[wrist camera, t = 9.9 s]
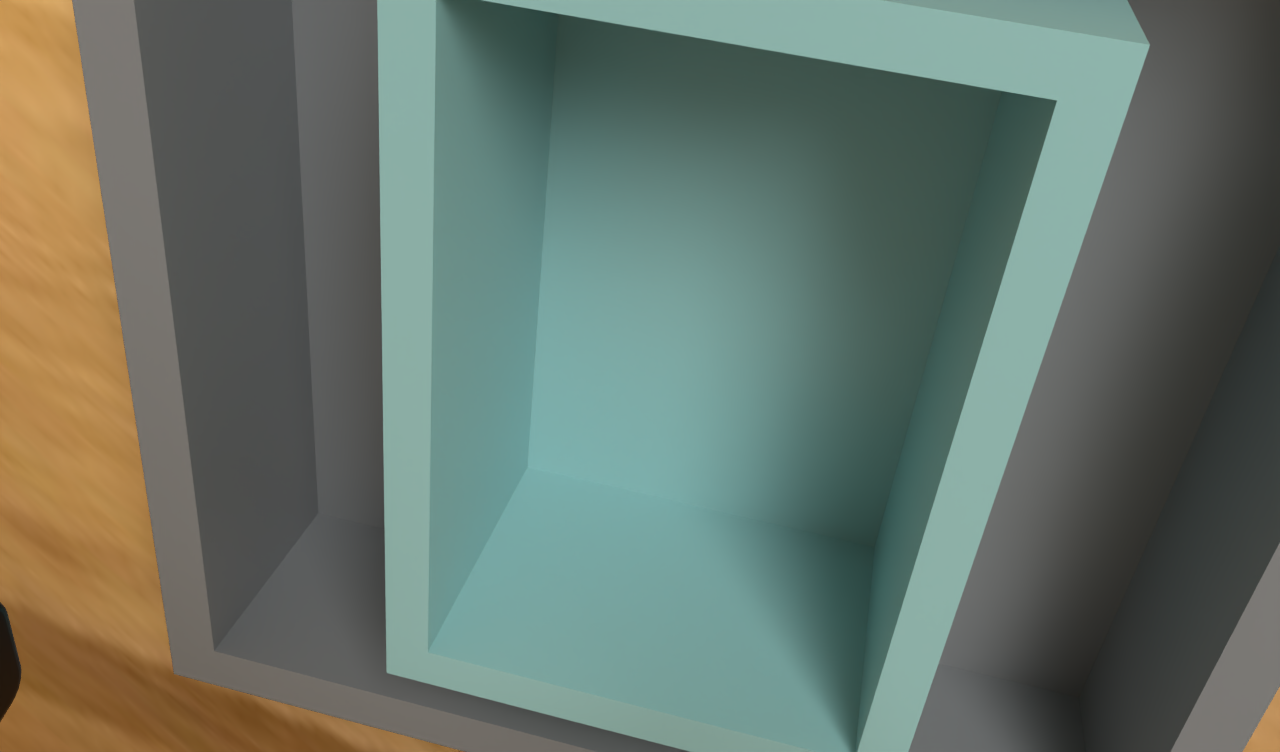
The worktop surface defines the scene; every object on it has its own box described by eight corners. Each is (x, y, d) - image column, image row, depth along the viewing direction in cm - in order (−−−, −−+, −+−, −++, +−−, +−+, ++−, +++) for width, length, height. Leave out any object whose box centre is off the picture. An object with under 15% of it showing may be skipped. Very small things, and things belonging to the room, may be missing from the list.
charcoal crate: (1565, -282, 13) (1819, -260, 9) (1107, 706, 21) (1139, 931, 17) (241, -446, 15) (-2, -483, 11) (300, 511, 23) (173, 674, 19)
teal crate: (1093, -67, 14) (1149, 44, 10) (905, 560, 19) (890, 803, 15) (536, -153, 15) (376, -84, 11) (503, 467, 20) (386, 672, 16)
